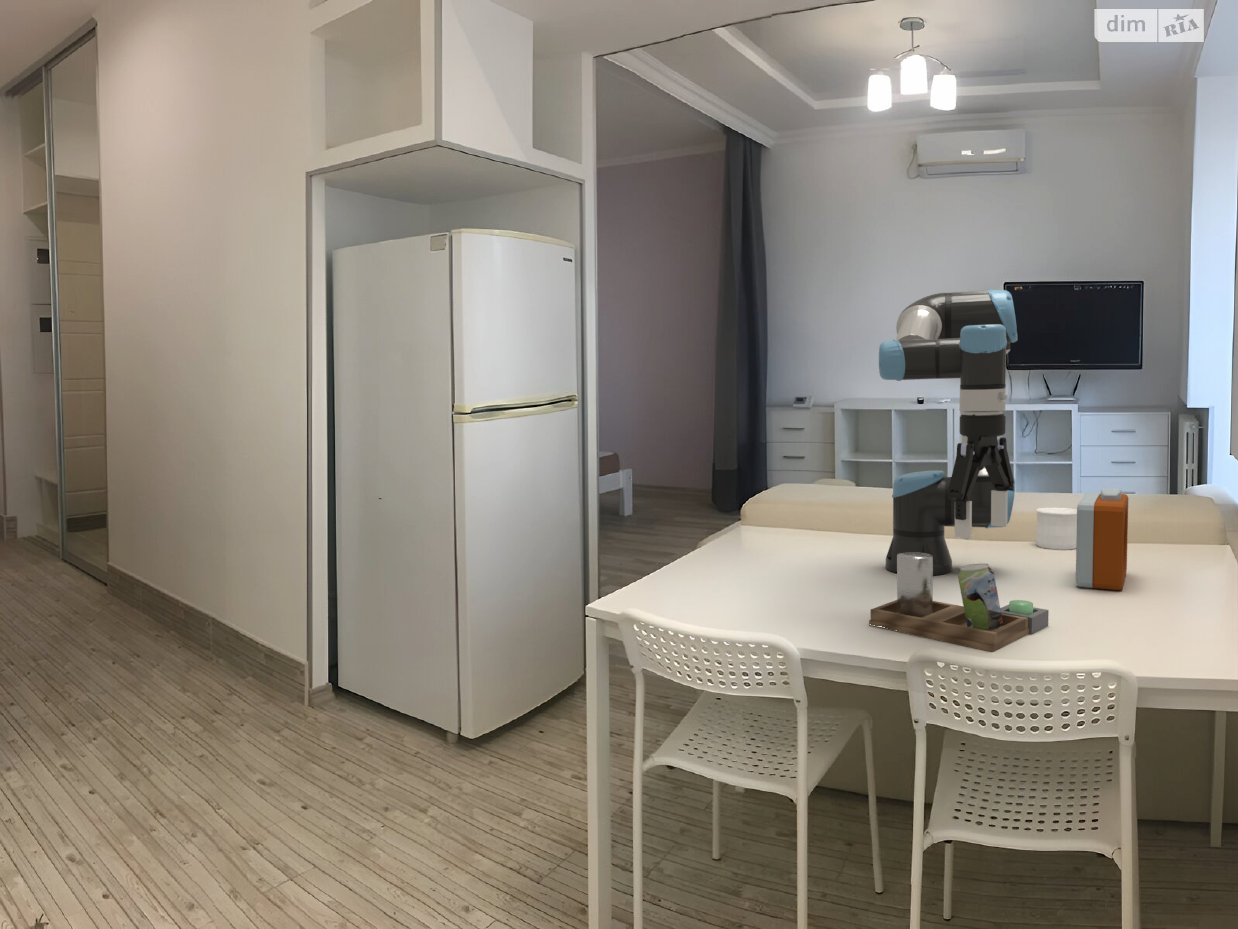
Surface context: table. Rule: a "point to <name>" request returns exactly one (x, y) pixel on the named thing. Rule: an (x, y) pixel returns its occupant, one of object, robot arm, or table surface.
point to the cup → (1056, 528)
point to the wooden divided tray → (950, 626)
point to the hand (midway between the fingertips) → (981, 531)
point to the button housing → (1032, 618)
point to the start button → (1021, 607)
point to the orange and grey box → (1102, 540)
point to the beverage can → (980, 597)
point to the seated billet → (915, 584)
